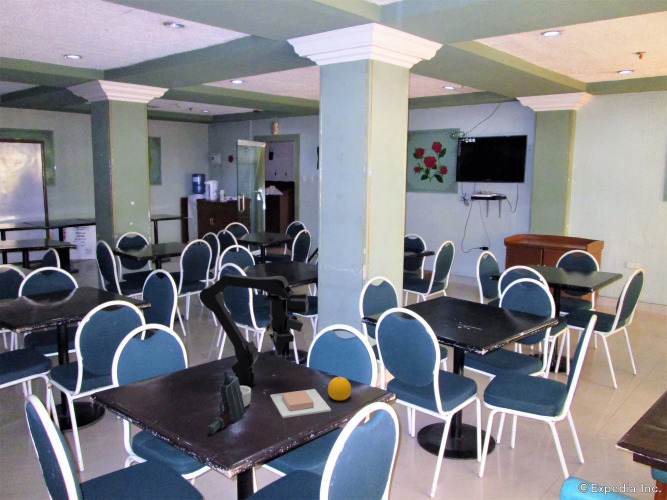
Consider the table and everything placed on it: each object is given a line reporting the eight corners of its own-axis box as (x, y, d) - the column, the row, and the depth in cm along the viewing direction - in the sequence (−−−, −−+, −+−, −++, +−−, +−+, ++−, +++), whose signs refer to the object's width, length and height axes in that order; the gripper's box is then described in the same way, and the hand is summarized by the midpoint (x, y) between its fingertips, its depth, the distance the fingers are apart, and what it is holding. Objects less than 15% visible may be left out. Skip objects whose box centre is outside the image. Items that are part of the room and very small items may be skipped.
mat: (282, 418, 169) (282, 416, 169) (270, 396, 186) (270, 394, 186) (331, 411, 174) (331, 409, 174) (314, 390, 191) (314, 389, 191)
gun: (197, 392, 154) (230, 364, 166) (209, 440, 160) (240, 409, 172) (204, 394, 153) (237, 365, 165) (216, 442, 159) (247, 411, 171)
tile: (282, 399, 182) (289, 411, 173) (282, 393, 182) (289, 405, 172) (305, 396, 185) (313, 407, 175) (305, 390, 184) (313, 402, 175)
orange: (348, 404, 180) (348, 382, 179) (325, 402, 181) (325, 380, 180) (352, 394, 187) (352, 374, 186) (330, 393, 189) (330, 372, 188)
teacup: (236, 399, 184) (236, 384, 183) (255, 403, 180) (255, 387, 180) (218, 410, 175) (218, 394, 174) (238, 415, 171) (238, 398, 171)
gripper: (308, 316, 184) (308, 360, 186) (294, 304, 202) (294, 345, 204) (276, 319, 181) (276, 364, 183) (264, 307, 198) (265, 348, 200)
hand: (279, 355), depth 193 cm, fingers closed
